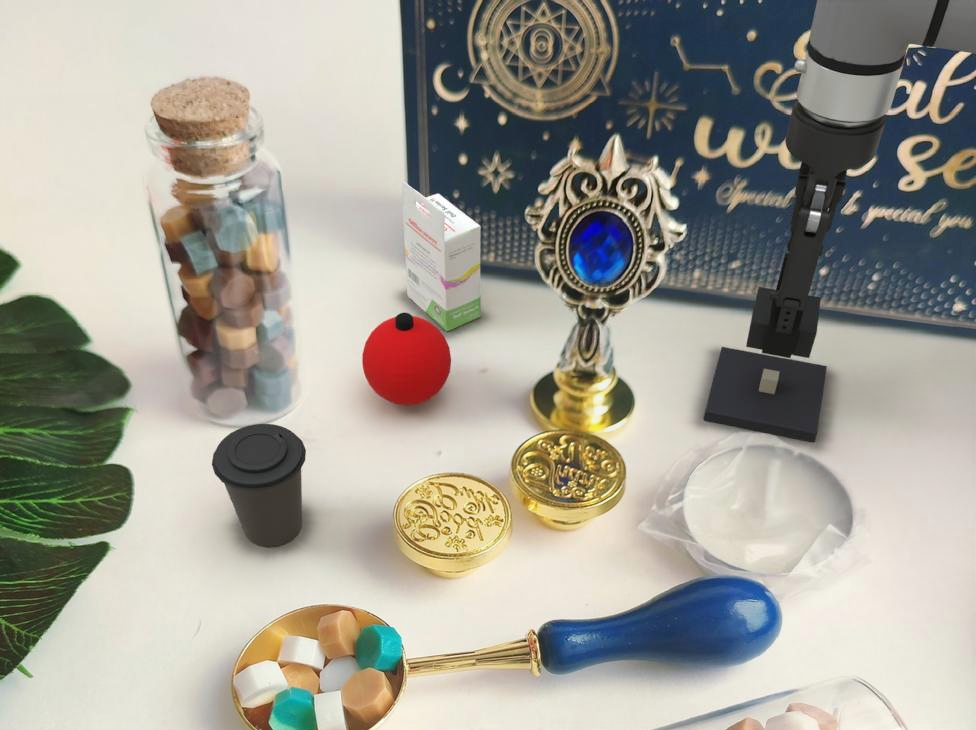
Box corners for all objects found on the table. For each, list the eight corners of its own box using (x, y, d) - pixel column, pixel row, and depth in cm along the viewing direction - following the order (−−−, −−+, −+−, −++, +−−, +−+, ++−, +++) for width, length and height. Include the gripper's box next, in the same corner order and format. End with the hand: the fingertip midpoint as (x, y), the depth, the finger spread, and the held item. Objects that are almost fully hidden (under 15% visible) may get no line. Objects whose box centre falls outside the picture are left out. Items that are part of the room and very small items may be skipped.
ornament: (377, 362, 116) (370, 284, 108) (459, 372, 115) (458, 293, 107) (356, 417, 110) (347, 339, 102) (442, 428, 109) (440, 349, 101)
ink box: (483, 318, 121) (484, 200, 110) (446, 333, 119) (443, 215, 108) (441, 281, 126) (437, 165, 115) (405, 295, 124) (398, 178, 113)
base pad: (719, 355, 116) (724, 332, 114) (824, 374, 114) (831, 352, 112) (703, 420, 109) (707, 397, 107) (814, 442, 107) (821, 420, 104)
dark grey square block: (752, 311, 108) (758, 286, 106) (813, 322, 107) (821, 296, 105) (745, 347, 104) (752, 321, 102) (809, 358, 103) (816, 333, 101)
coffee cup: (332, 509, 101) (321, 430, 94) (288, 570, 96) (273, 491, 89) (258, 484, 103) (242, 405, 96) (211, 542, 98) (190, 464, 91)
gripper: (805, 52, 95) (754, 272, 112) (781, 154, 83) (727, 385, 100) (893, 64, 94) (828, 285, 111) (881, 170, 82) (810, 401, 98)
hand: (780, 332), depth 105 cm, fingers closed on dark grey square block, 6 cm apart
